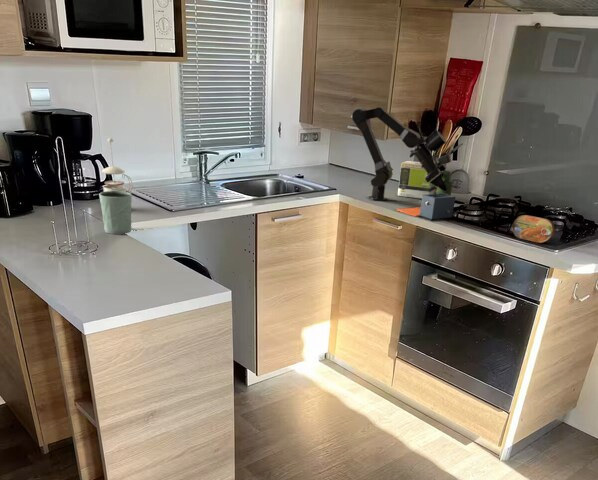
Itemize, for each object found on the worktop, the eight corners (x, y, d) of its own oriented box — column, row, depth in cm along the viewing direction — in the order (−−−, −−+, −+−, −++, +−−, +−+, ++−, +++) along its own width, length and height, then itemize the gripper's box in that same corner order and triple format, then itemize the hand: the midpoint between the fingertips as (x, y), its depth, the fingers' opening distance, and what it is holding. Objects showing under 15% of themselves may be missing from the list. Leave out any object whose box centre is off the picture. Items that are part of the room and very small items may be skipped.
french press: (98, 207, 229) (91, 136, 216) (127, 205, 235) (121, 135, 223) (110, 213, 222) (103, 140, 210) (139, 210, 229) (133, 139, 217)
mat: (396, 210, 252) (396, 209, 252) (421, 207, 259) (421, 207, 259) (415, 216, 244) (415, 215, 244) (440, 214, 251) (440, 213, 250)
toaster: (417, 216, 244) (420, 194, 239) (439, 214, 250) (443, 192, 245) (431, 221, 238) (434, 198, 234) (453, 218, 244) (457, 196, 240)
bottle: (431, 203, 264) (437, 170, 258) (444, 204, 266) (450, 170, 259) (437, 207, 259) (443, 172, 252) (450, 207, 261) (457, 173, 254)
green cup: (98, 229, 202) (94, 191, 196) (127, 225, 208) (123, 189, 202) (110, 236, 195) (106, 197, 189) (139, 232, 201) (136, 195, 195)
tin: (510, 236, 223) (515, 213, 219) (514, 235, 225) (519, 212, 221) (548, 245, 214) (554, 221, 210) (552, 244, 216) (558, 220, 212)
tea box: (433, 196, 283) (438, 163, 275) (428, 200, 275) (433, 166, 267) (402, 192, 288) (407, 159, 280) (396, 196, 280) (401, 162, 272)
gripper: (438, 148, 244) (460, 180, 247) (445, 144, 260) (466, 174, 262) (415, 166, 251) (437, 197, 253) (424, 161, 266) (445, 190, 268)
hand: (447, 189), depth 259 cm, fingers closed on bottle, 6 cm apart
